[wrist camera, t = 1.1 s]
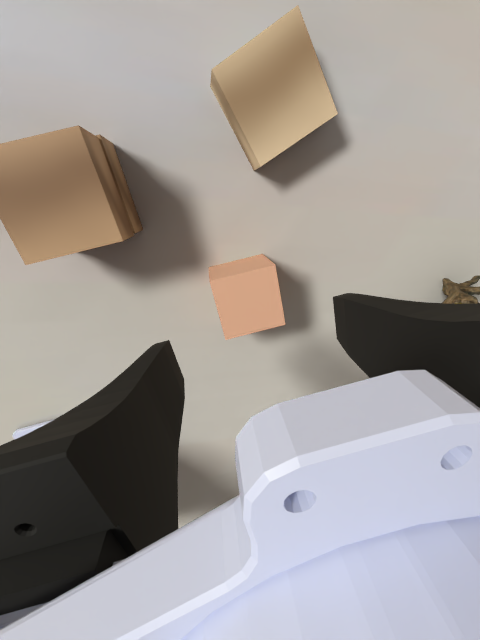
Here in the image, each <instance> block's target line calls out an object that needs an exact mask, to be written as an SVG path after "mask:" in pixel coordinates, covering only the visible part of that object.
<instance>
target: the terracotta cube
mask: <svg viewBox="0 0 480 640" xmlns="http://www.w3.org/2000/svg"><path fill="white" fill-rule="evenodd" d="M209 279H210V284H211V288H212V292H213V295H214V299H215V303H216V306H217V310H218V314H219V317H220V321H221V325H222V328H223V332H224V336H225V339H226V340H227V339H231V338H235V337H239V336H243V335H247V334H251V333H255V332H259V331H262V330H266V329H270V328H274V327H278V326H282V325H285V319H284V313H283V307H282V301H281V295H280V289H279V283H278V277H277V272H276V266H275V264H274V263H273V262H271V261H270V260H269V259H268V258H267V257H266V256H264V255H263V254H260V255H256V256H252V257H248V258H244V259H240V260H236V261H232V262H228V263H224V264H220V265H216V266H212V267H209Z"/></svg>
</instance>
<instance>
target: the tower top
mask: <svg viewBox="0 0 480 640" xmlns="http://www.w3.org/2000/svg"><path fill="white" fill-rule="evenodd" d="M0 219H1V221H2V223H3V224H4V226H5V228H6V230H7V232H8V234H9V235H10V237H11V239H12V241H13V243H14V245H15V246H16V248H17V250H18V252H19V254H20V256H21V257H22V259H23V261H24V263H25V265H28V264H32V263H36V262H40V261H44V260H48V259H52V258H56V257H60V256H64V255H69V254H73V253H77V252H81V251H85V250H89V249H93V248H97V247H101V246H105V245H109V244H113V243H117V242H121V241H124V240H126V239H128V238H130V237H133V236H134V234H133V231H132V228H131V226H130V223H129V220H128V217H127V215H126V212H125V209H124V206H123V204H122V201H121V198H120V196H119V193H118V190H117V187H116V185H115V182H114V179H113V176H112V174H111V171H110V168H109V166H108V163H107V160H106V157H105V155H104V152H103V149H102V146H101V144H100V141H99V138H98V137H96V136H95V135H93V134H91V133H90V132H88V131H87V130H85V129H83V128H82V127H80V126H74V127H70V128H66V129H62V130H57V131H53V132H49V133H44V134H40V135H36V136H32V137H27V138H23V139H19V140H15V141H10V142H6V143H2V144H0Z"/></svg>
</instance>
